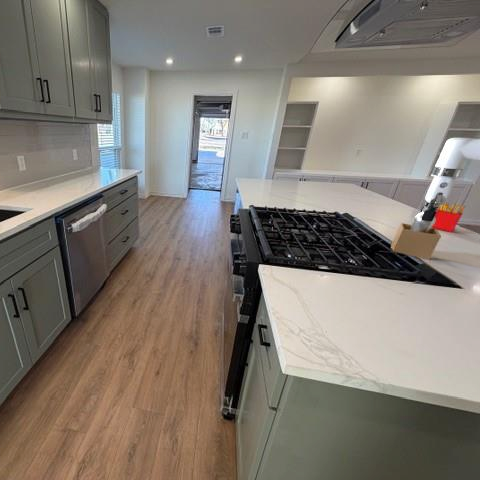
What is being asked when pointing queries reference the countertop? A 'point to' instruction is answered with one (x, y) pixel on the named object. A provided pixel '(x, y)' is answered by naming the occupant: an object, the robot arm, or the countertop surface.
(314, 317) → the countertop surface
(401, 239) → the bottle box
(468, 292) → the countertop surface
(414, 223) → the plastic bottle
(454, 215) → the french fries container
